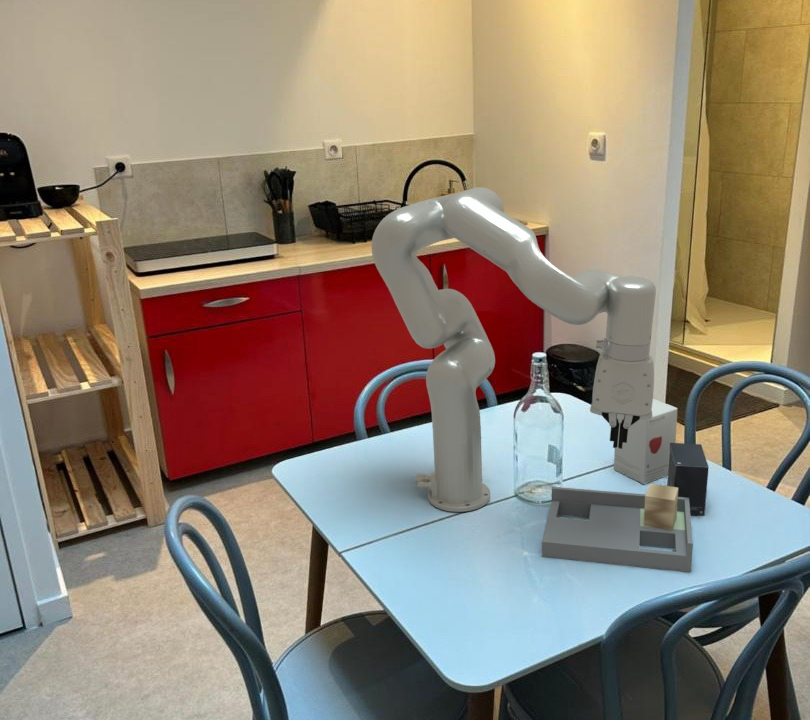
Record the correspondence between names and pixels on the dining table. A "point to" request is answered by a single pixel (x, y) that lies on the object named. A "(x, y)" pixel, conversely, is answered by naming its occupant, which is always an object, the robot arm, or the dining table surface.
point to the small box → (689, 474)
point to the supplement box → (648, 445)
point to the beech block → (661, 506)
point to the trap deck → (614, 530)
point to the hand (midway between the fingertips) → (617, 444)
